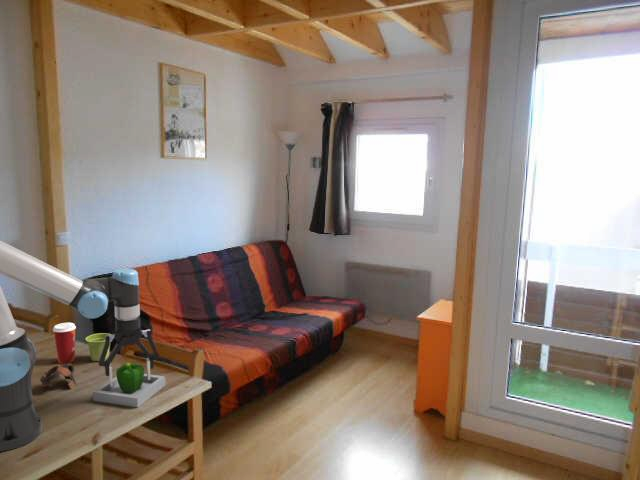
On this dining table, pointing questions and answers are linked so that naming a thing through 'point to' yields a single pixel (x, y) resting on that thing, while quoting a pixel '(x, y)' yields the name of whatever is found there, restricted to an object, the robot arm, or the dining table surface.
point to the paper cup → (65, 342)
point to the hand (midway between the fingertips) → (130, 381)
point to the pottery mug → (56, 375)
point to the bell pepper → (130, 377)
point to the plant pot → (97, 345)
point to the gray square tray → (129, 399)
